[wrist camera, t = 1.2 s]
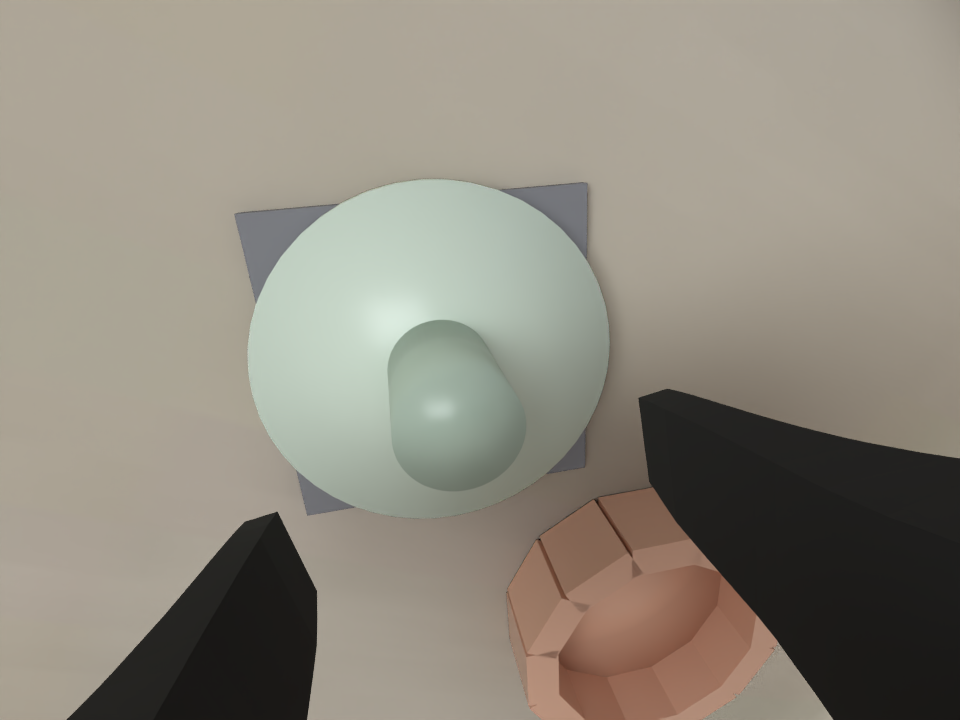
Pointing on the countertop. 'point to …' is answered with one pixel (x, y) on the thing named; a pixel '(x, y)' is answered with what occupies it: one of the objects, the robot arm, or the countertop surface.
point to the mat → (281, 227)
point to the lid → (428, 348)
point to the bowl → (629, 619)
